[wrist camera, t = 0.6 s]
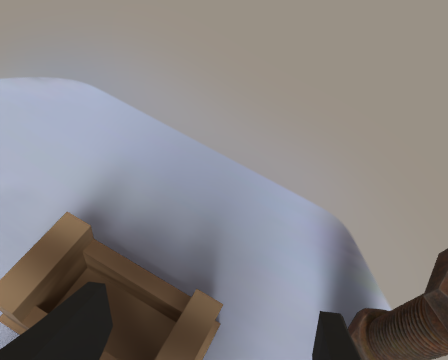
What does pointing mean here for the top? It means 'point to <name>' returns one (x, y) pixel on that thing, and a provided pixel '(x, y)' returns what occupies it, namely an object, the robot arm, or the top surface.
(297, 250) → the top surface
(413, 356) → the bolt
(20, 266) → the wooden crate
